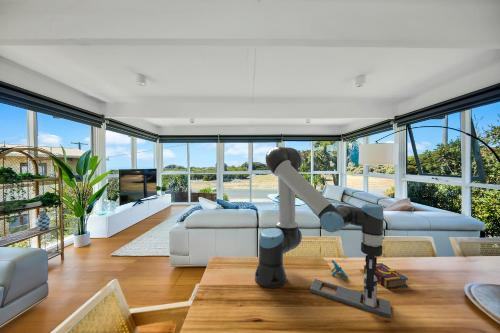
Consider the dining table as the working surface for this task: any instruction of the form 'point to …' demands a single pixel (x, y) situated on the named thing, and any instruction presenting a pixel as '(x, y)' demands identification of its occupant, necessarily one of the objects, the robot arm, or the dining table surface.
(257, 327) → the dining table surface
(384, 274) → the decorative book
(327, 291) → the rail
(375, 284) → the beer can
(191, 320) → the dining table surface
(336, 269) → the gear
